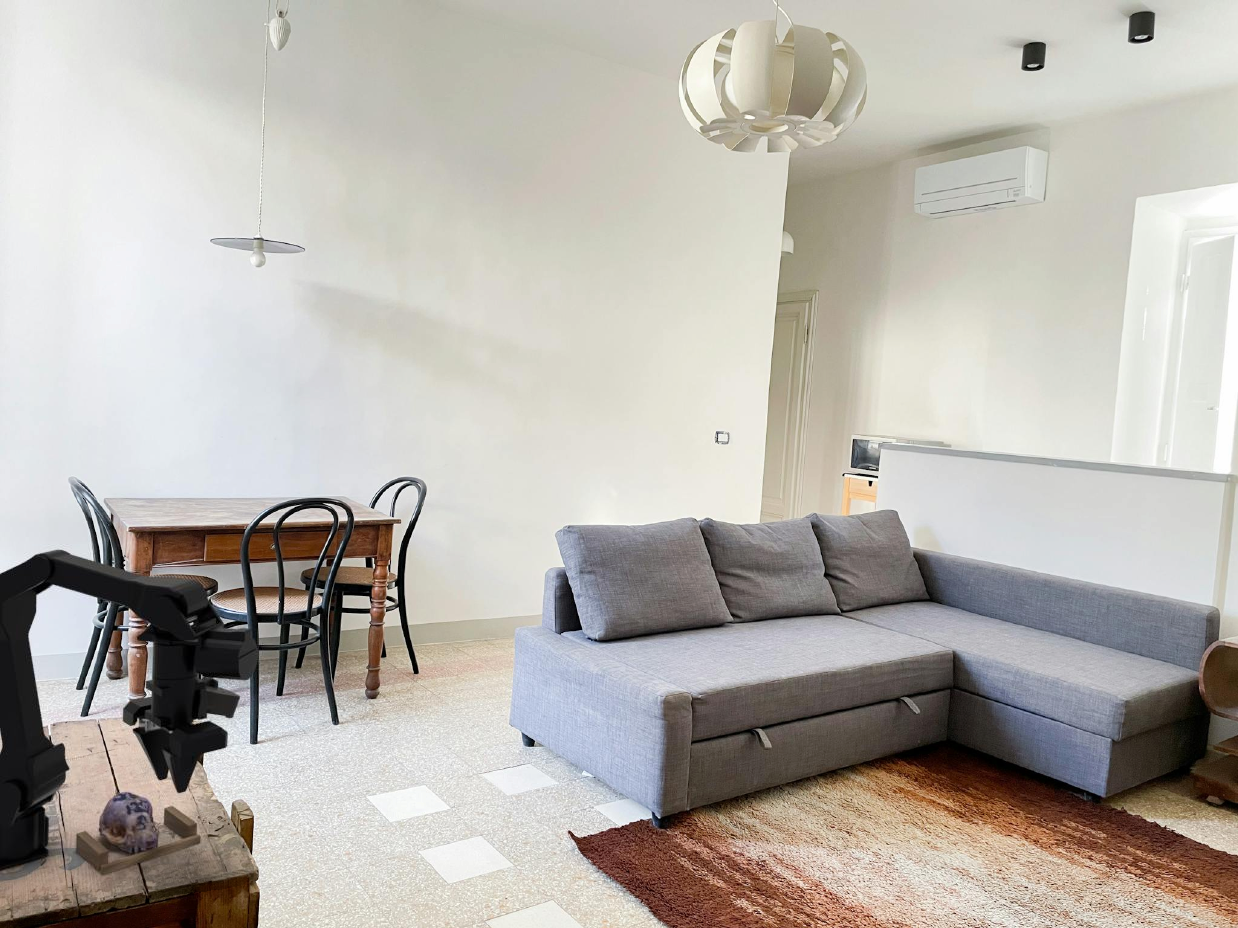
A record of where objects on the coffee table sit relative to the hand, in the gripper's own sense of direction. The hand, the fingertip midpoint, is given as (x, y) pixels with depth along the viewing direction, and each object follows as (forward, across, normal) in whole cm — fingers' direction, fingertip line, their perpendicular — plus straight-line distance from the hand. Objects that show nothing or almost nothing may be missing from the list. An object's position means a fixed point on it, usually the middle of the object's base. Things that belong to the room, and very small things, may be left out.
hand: (171, 785), depth 125 cm
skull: (+12, +12, 0) cm, 17 cm away
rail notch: (+12, +9, 0) cm, 15 cm away
